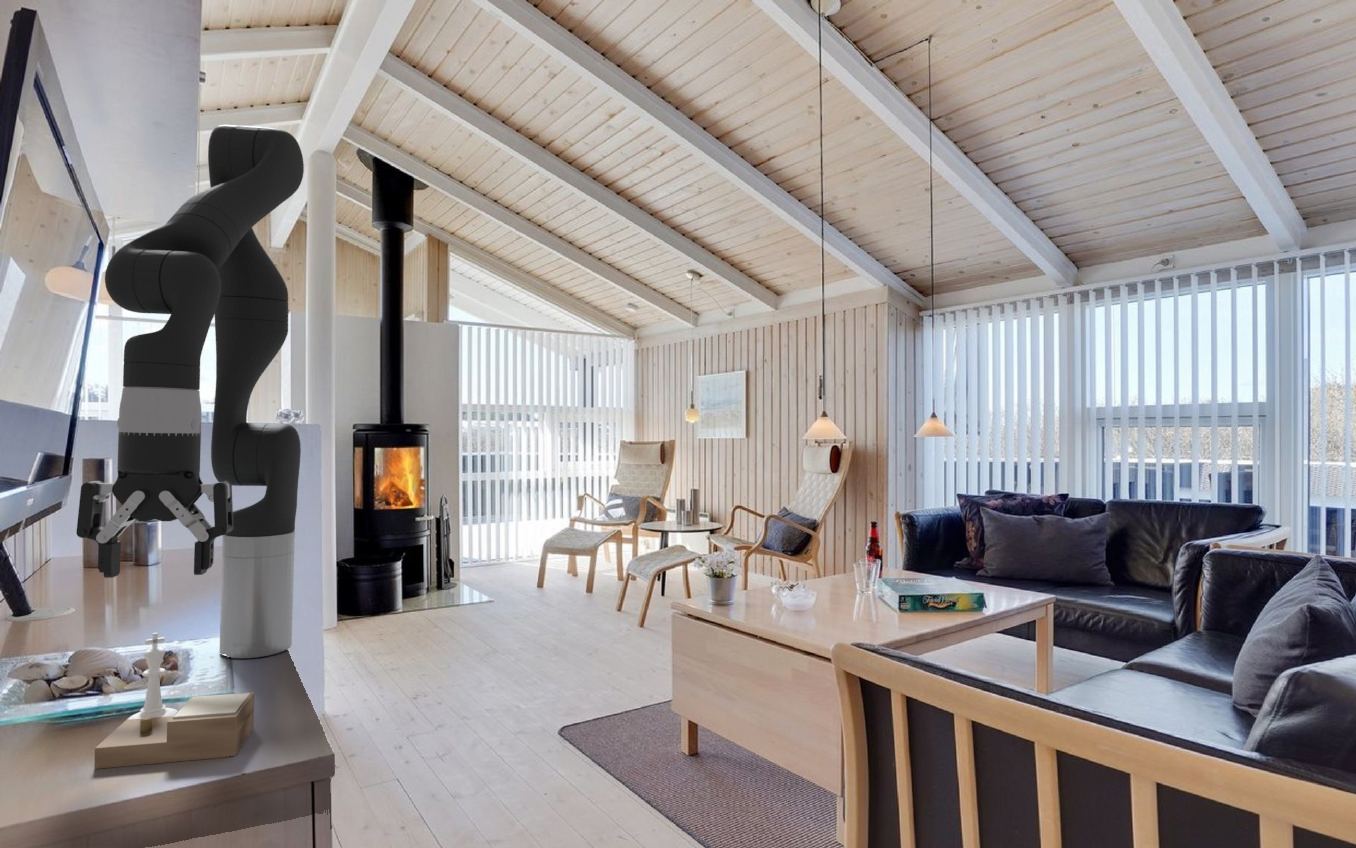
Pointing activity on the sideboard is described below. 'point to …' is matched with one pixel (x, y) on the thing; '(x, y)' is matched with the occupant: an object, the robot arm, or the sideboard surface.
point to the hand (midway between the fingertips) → (156, 575)
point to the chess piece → (154, 682)
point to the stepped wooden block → (182, 733)
